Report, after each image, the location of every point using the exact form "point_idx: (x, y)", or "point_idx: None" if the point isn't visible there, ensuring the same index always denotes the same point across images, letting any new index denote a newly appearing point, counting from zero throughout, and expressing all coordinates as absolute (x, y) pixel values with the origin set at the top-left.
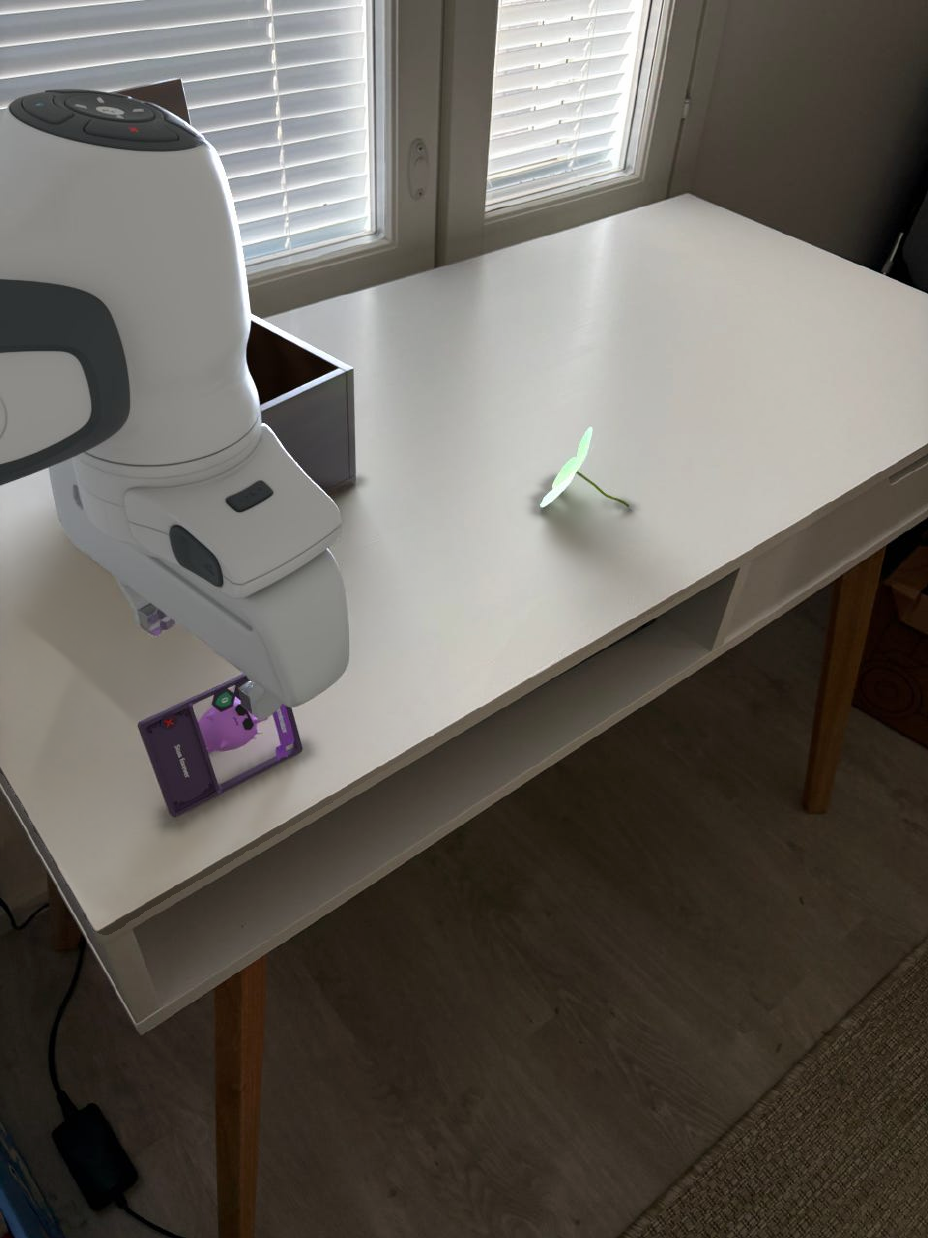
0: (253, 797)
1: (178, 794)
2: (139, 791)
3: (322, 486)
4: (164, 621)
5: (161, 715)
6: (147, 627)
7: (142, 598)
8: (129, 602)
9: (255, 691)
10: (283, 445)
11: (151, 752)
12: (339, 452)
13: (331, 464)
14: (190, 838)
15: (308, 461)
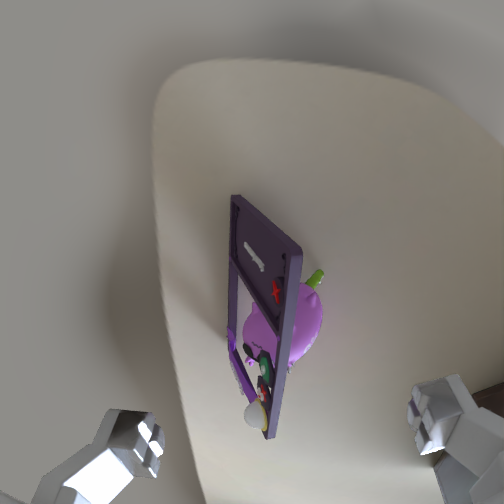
0: (205, 281)
1: (241, 219)
2: (300, 182)
3: (446, 462)
4: (416, 417)
5: (285, 294)
6: (430, 396)
7: (466, 435)
8: (484, 410)
9: (71, 467)
10: None
11: (265, 232)
12: (446, 487)
13: (447, 478)
14: (194, 197)
15: (459, 479)
